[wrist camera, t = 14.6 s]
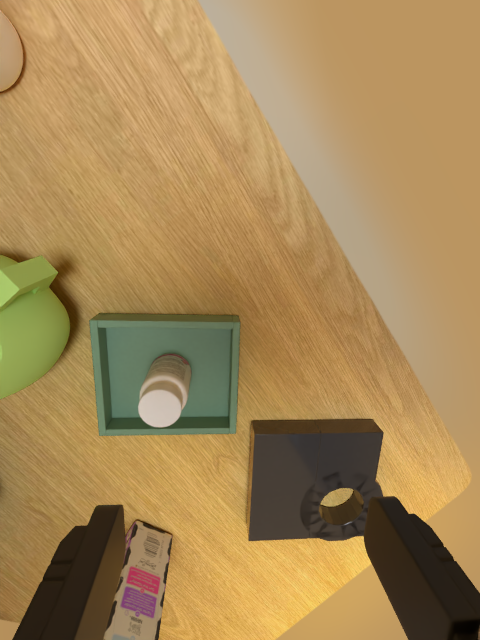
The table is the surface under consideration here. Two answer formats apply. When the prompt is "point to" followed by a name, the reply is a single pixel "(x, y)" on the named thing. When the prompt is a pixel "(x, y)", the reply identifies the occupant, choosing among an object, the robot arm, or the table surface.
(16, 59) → the water bottle
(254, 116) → the table surface
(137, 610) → the candy box
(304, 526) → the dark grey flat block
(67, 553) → the robot arm
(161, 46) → the table surface
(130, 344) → the tray
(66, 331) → the teapot
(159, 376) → the pill bottle
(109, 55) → the table surface
